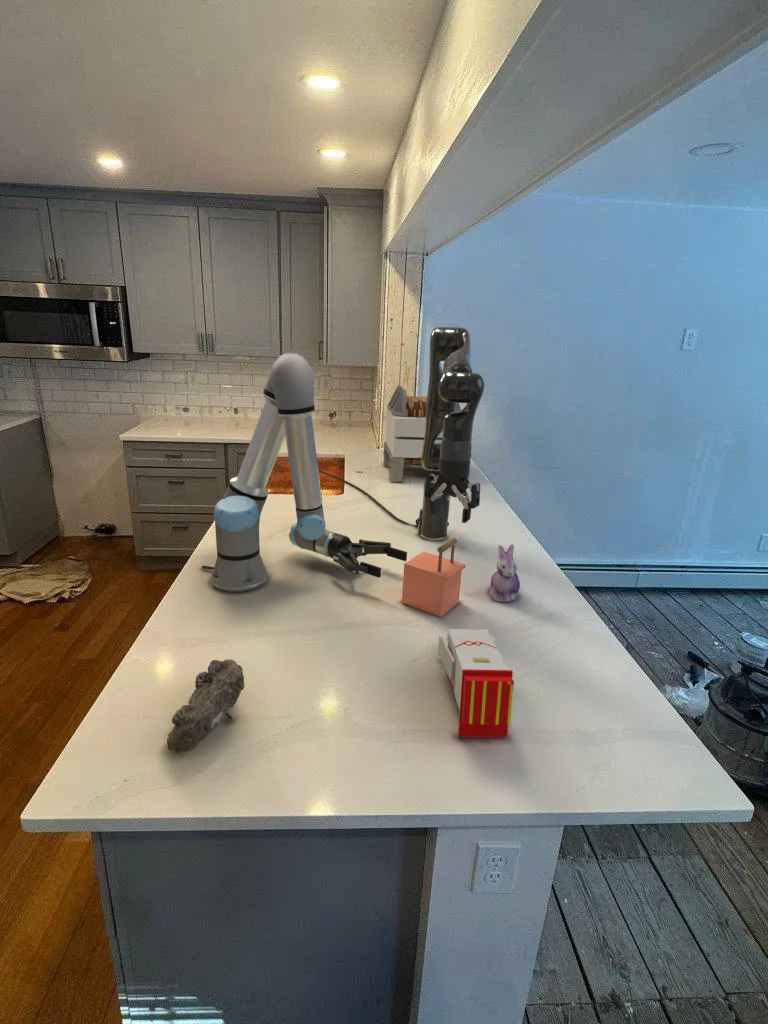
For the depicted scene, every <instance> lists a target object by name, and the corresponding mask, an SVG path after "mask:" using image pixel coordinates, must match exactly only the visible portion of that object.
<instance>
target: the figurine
mask: <svg viewBox="0 0 768 1024" xmlns="http://www.w3.org/2000/svg"><path fill="white" fill-rule="evenodd" d="M497 549H498V561H497V563H496V570H497V571H495V572H494V573H493V574H492V575H491V577H490V586H489V594H490V596H491V597H492V599H493V600H494V601H496V602H501V603H508V602H510V601H514V600H516V599H517V597H518V595H519V591H520V588H521V582H520V579H519V576H518V574H517V570H518V566H517V562H516V560H515V559H514V551H515V546H514V544H510V545H509V546H508V548H507V551H506V550H505V549H504V547H503V546H502V545H500V544H499V545H498V547H497Z"/></svg>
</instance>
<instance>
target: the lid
mask: <svg viewBox="0 0 768 1024" xmlns="http://www.w3.org/2000/svg"><path fill="white" fill-rule="evenodd" d="M457 544H458V539H457V538H456V537H453V538H451V539H449V540H448V541H447V542H445V543H443V544H442V545H440V546H438V547H437V552H438V555H437V554H433V553H430V552H428V551H422V552H420V553H419V554H417V555H415V556H414V557H412V558H411V559H409V560H407V561H405V562H404V563H403V568H404V567H406V568H409V569H412V570H415V571H418V572H421V573H424V574H427V575H430V576H434V577H437V578H440V579H443V580H446V581H448V580H450V579H451V578H452V577H454V576H455V575H456V574H458V573H459V572H460V571H462V572H463V570H464V569H466V566H467V564H466V563H464V562H460V561H457V560H455V550H456V545H457ZM449 549H450V558H447V557H443V554H444V553H445V552H446V551H448V550H449Z"/></svg>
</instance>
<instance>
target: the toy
mask: <svg viewBox="0 0 768 1024" xmlns="http://www.w3.org/2000/svg"><path fill="white" fill-rule="evenodd" d="M446 640H447V643H446V641H445V639H444V636H443V635H442V634H439V637H438V646H437V656H438V657H439V659H440V661H441V663H442V666H443V668H444V670H445V672H446V674H447V677H448V679H449V681H450V684H451V687H452V690H453V693H454V697H455V701H456V705H457V708H458V711H459V714H458V715H459V716H458V730H457V731H458V732H457V737H458V738H508V731H509V726H510V725H511V717H512V707H513V697H514V696H513V695H514V684H515V680H514V679H513V673H514V671H513V670H512V669H508V667H507V665H506V662H505V661H504V659H503V658H502V655H501V653H500V651H499V649H498V647H497V643H496V639H495V637H494V635H493V634H491V632H490V631H489V629H467V628H466V629H465V628H463V629H461V628H460V629H459V628H448V630H447V639H446Z"/></svg>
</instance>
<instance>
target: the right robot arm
mask: <svg viewBox="0 0 768 1024" xmlns="http://www.w3.org/2000/svg"><path fill="white" fill-rule="evenodd" d="M470 335H471V334H470V332H469V330H468V329H467V328H465V327H460V326H436V327H434V328H433V329H432V330H431V333H430V338H429V371H428V373H429V374H428V385H427V386H428V387H427V395H426V397H427V403H426V424H425V435H424V442H423V449H422V457H421V461H422V466H421V467H422V468H423V470H426V471H435V472H436V471H437V472H438V474H436V473H434V472H432V473H430V474H427V475H426V479H425V480H424V482H423V493H422V496H423V497H422V506H421V508H420V509H419V516H418V517H417V518H416V520H415V524H411V523H408V522H407V521H404V520H402V519H400V518H399V517H397V516H395V514H393V513H392V512H391V511H390V510H388V509H387V508H386V507H384V505H382V504H381V503H380V502H379V501H377V499H375V498H374V497H373V496H372V495H370V494H369V493H367V492H366V491H365V490H363V489H362V488H360V487H359V486H357V485H355V484H353V483H351V482H349V481H347V480H345V479H343V478H341V477H338V476H335V475H333V474H330V473H328V472H326V471H322V470H320V469H318V471H319V473H321V474H324V475H327V476H329V477H331V478H334V479H336V480H338V481H341V482H344V483H346V484H348V485H349V486H352V487H354V488H355V489H357V490H359V491H360V492H362V493H363V494H365V495H366V496H367V497H369V498H370V499H371V500H372V501H374V503H376V505H378V506H379V507H380V508H381V509H383V510H384V512H386V513H387V514H389V515H390V516H391V517H392V518H393V519H395V520H396V521H398V522H400V523H402V524H404V525H406V526H407V525H408V526H412V527H414V528H418V530H417V535H418V536H420V538H421V539H424V540H426V541H432V542H440V541H444V540H446V539H447V538H448V527H449V526H450V522H449V517H450V516H449V514H450V504H451V497H452V498H456V499H458V501H459V502H460V503H461V505H462V507H463V509H462V516H461V523H462V524H466V523H468V522H469V521H470V520H471V517H472V516H471V515H472V509H476V508H477V507H480V502H481V501H480V500H481V483H480V482H476V483H475V482H474V483H473V482H470V481H469V476H470V470H471V469H470V468H471V459H472V450H473V449H472V447H473V446H472V445H473V444H472V436H473V425H474V421H475V417H476V414H477V411H478V407H479V406H480V405H479V404H480V403H481V400H482V398H483V395H484V392H485V386H486V385H485V380H484V377H483V376H482V375H481V374H479V373H477V372H473V368H472V364H471V356H472V355H471V353H472V352H471V350H472V349H471V348H472V345H471V336H470ZM441 362H443V365H442V364H441ZM457 403H459V404H465V407H463V409H462V408H461V410H460V411H457V412H456V405H457ZM442 431H443V436H442V442H441V443H434V442H435V440H436V438H437V437H438V435H439V434H440V433H441V432H442ZM468 489H469V492H470V493H471V494H470V495H469V492H468V491H467V490H468Z"/></svg>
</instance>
